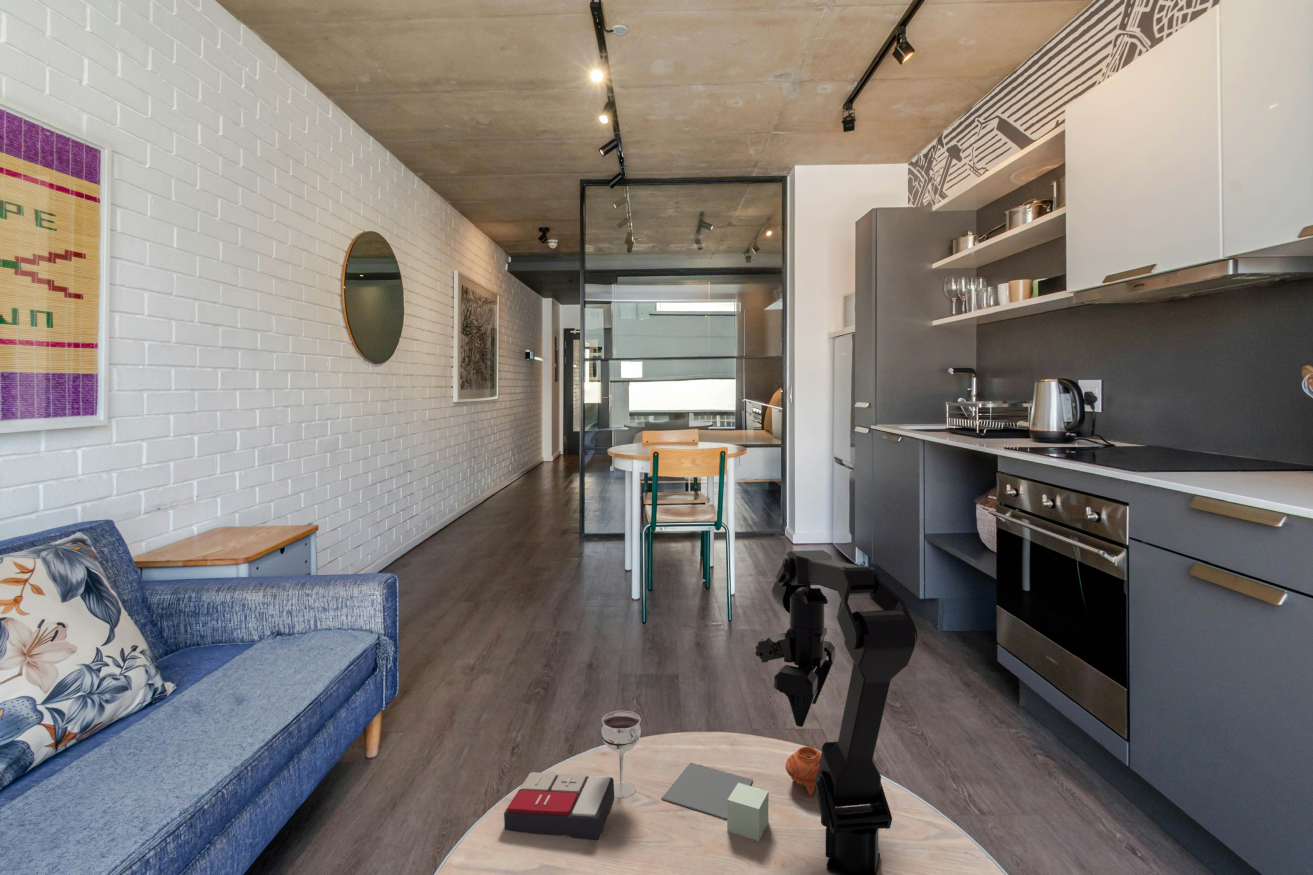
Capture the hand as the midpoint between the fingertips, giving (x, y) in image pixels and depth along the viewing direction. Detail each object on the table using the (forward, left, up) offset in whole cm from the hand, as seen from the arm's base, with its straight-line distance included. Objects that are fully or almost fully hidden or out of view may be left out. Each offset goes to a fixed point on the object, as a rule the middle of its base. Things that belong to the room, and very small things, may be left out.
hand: (806, 714), depth 105 cm
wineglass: (+28, +15, -13) cm, 34 cm away
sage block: (+6, +14, -13) cm, 20 cm away
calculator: (+34, +24, -14) cm, 44 cm away
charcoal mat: (+15, +8, -13) cm, 21 cm away
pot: (0, -1, -13) cm, 13 cm away
